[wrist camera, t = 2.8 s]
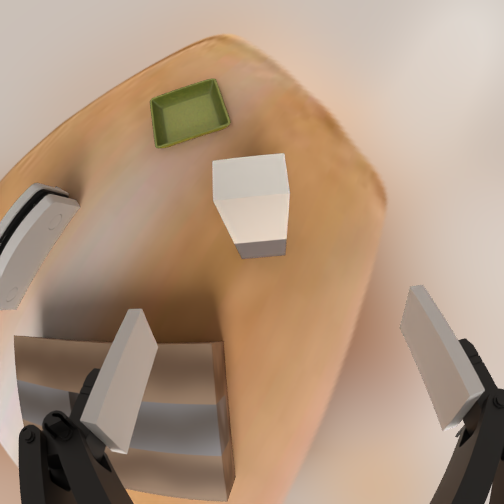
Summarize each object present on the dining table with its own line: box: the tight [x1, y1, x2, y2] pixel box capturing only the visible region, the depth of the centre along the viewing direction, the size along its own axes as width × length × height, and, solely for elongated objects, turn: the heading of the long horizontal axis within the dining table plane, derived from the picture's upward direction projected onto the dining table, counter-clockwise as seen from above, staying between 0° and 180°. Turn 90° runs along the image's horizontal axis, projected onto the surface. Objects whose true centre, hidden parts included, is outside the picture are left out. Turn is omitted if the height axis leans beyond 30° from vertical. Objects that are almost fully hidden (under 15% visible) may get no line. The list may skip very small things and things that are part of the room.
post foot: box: [14, 336, 235, 502], centre depth 23 cm, size 14×22×5 cm, turn 94°
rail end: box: [212, 153, 290, 259], centre depth 22 cm, size 2×4×13 cm, turn 94°
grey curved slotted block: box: [0, 183, 80, 310], centre depth 27 cm, size 17×5×10 cm, turn 143°
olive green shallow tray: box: [150, 79, 231, 148], centre depth 32 cm, size 9×9×2 cm
